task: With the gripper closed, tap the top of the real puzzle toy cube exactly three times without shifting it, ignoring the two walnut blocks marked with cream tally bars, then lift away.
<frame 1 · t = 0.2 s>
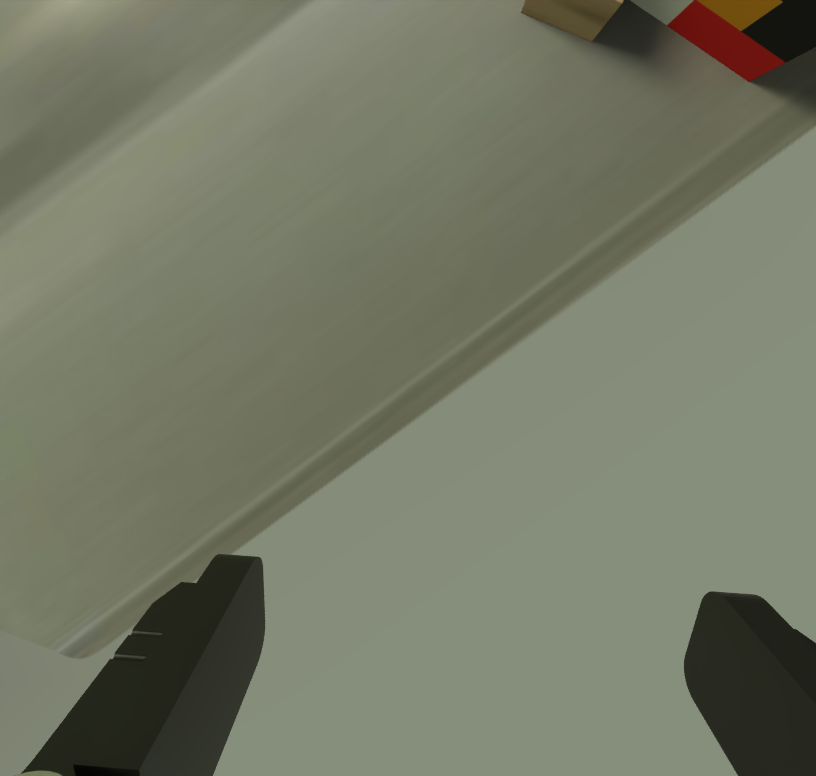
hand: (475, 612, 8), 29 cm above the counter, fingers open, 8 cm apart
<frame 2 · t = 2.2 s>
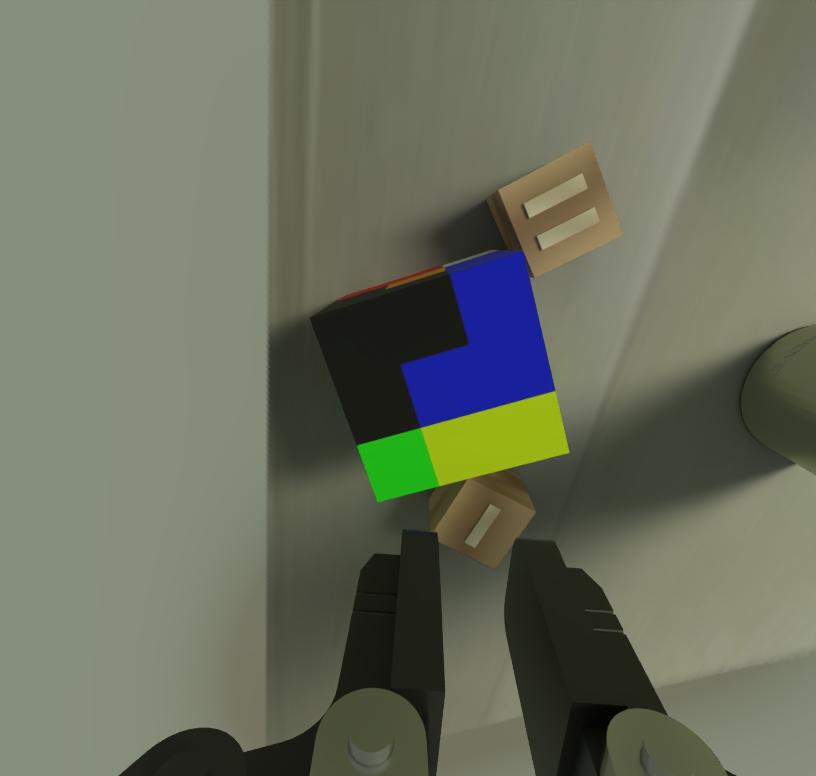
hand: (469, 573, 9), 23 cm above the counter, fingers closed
one bar block: (474, 486, 35), on the counter
puzzle toy: (438, 344, 32), on the counter
two bar block: (538, 218, 29), on the counter
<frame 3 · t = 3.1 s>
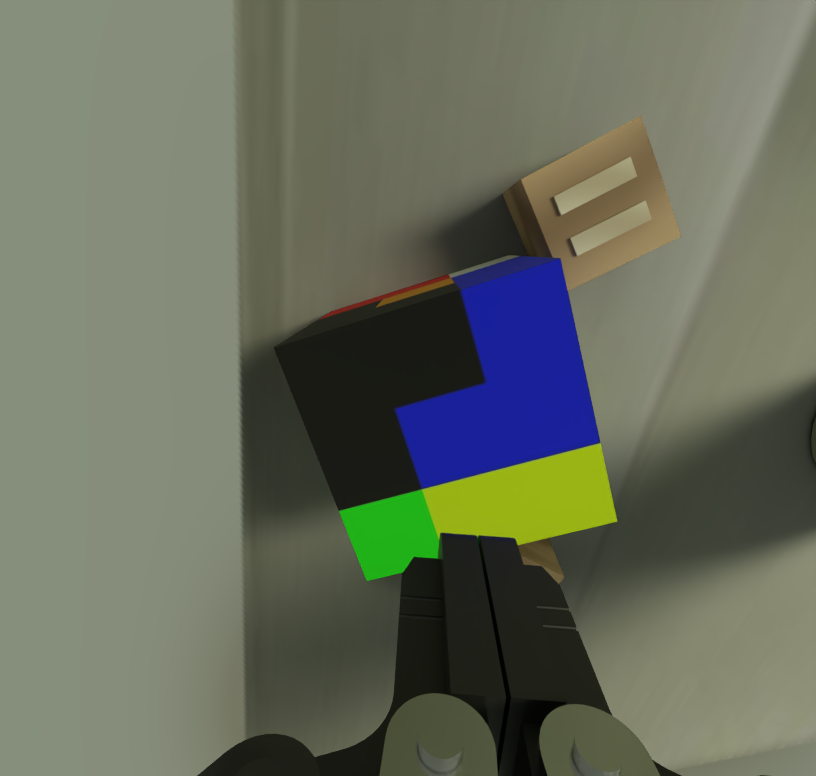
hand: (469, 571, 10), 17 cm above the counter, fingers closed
one bar block: (486, 535, 29), on the counter
puzzle toy: (443, 368, 26), on the counter
two bar block: (566, 216, 24), on the counter
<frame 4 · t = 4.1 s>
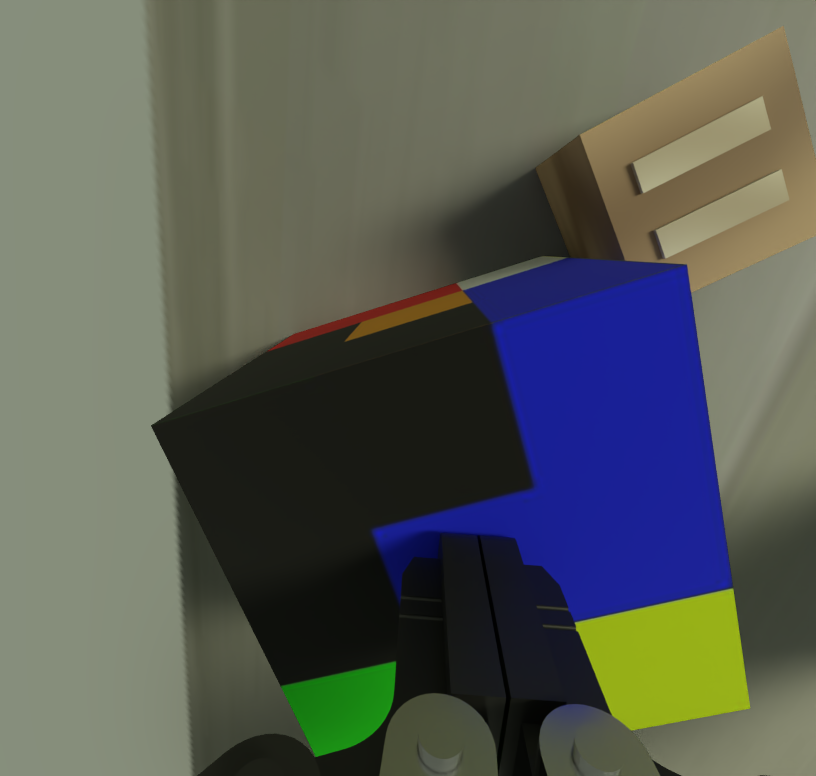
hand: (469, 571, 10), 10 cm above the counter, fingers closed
puzzle toy: (449, 411, 19), on the counter, touching gripper
two bar block: (626, 201, 17), on the counter
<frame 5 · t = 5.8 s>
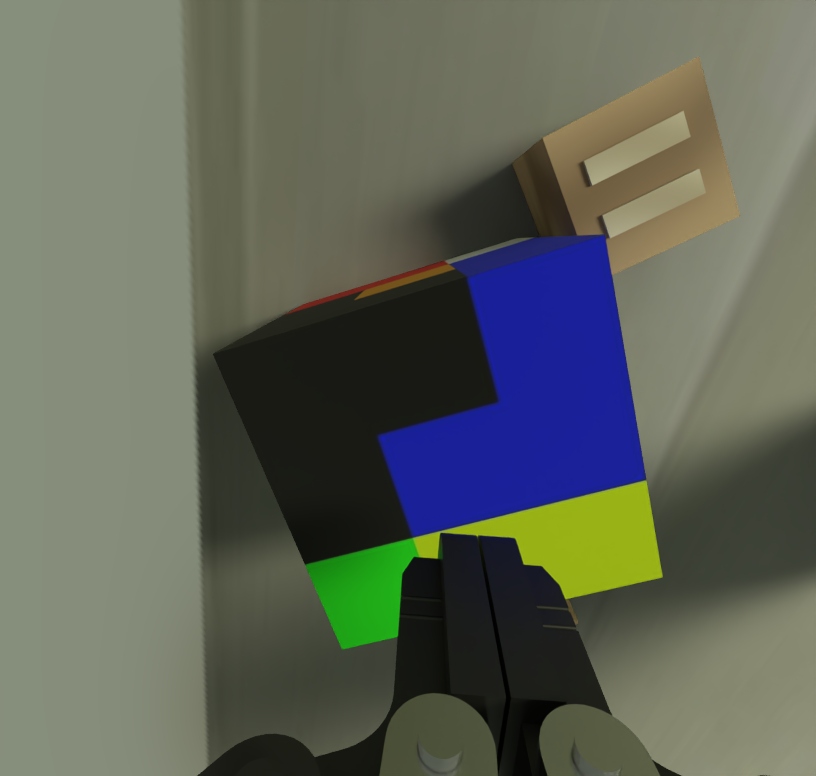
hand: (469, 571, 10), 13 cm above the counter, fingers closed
puzzle toy: (437, 373, 22), on the counter
two bar block: (588, 193, 20), on the counter
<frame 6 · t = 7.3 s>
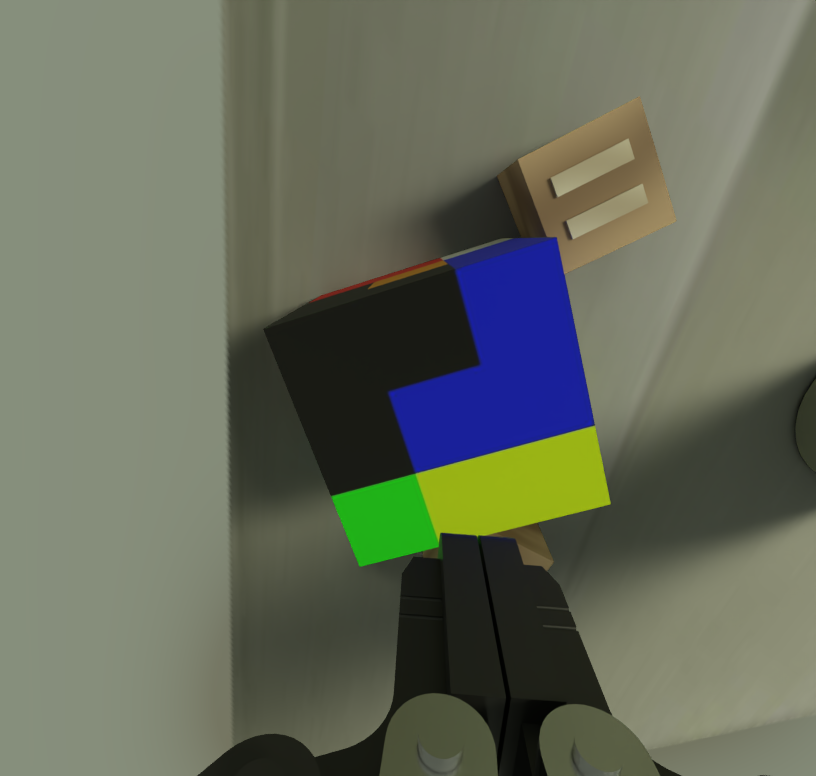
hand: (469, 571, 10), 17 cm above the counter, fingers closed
one bar block: (476, 521, 29), on the counter
puzzle toy: (435, 354, 26), on the counter
two bar block: (561, 200, 23), on the counter
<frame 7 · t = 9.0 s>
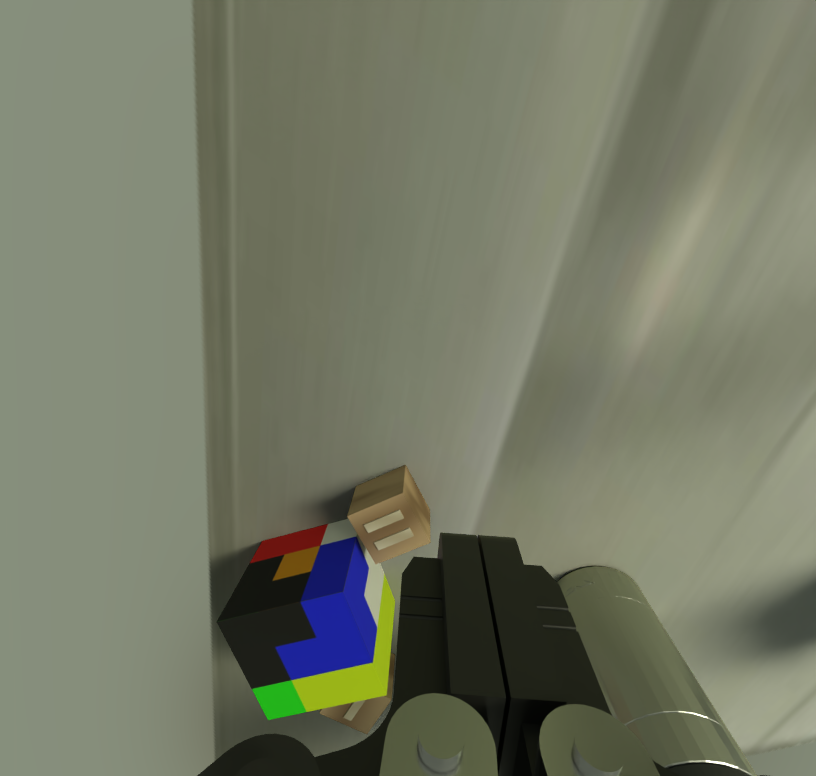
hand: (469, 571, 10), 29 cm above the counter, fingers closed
one bar block: (362, 660, 48), on the counter
puzzle toy: (330, 569, 45), on the counter
two bar block: (393, 497, 42), on the counter
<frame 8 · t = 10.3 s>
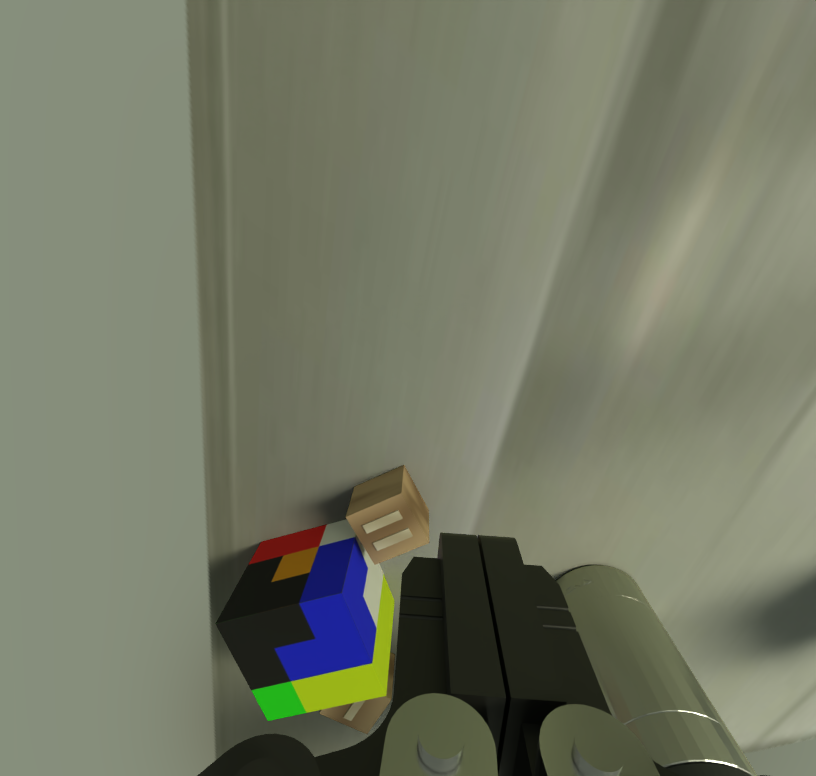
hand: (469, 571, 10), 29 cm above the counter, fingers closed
one bar block: (362, 660, 48), on the counter
puzzle toy: (329, 570, 45), on the counter
two bar block: (391, 497, 42), on the counter
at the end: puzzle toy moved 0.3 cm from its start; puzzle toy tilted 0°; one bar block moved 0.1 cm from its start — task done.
